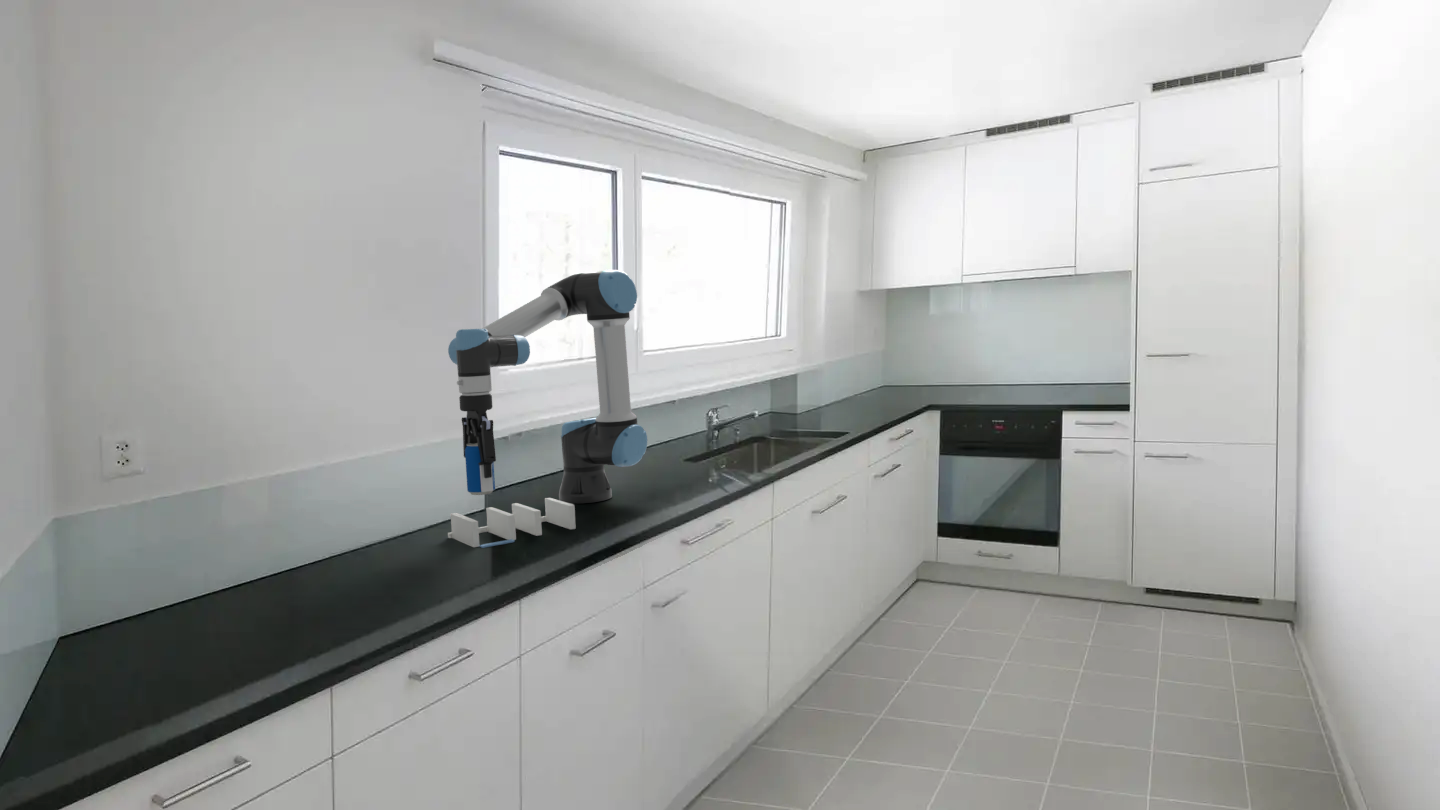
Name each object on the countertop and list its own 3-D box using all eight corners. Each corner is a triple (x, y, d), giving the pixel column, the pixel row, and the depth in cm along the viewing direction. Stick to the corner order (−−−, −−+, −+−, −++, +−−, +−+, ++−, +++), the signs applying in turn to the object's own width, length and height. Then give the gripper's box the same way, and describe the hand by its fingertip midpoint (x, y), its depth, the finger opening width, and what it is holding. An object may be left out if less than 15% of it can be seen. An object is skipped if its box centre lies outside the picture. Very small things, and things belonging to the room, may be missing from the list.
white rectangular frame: (551, 519, 254) (550, 496, 253) (578, 528, 242) (576, 504, 242) (448, 537, 237) (446, 513, 237) (470, 547, 226) (469, 522, 225)
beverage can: (488, 495, 229) (485, 445, 228) (462, 495, 230) (459, 445, 229) (499, 490, 235) (496, 441, 234) (475, 490, 237) (472, 441, 236)
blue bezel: (511, 540, 231) (511, 539, 231) (514, 541, 230) (514, 540, 230) (479, 546, 227) (479, 545, 227) (482, 547, 225) (482, 546, 225)
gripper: (445, 393, 236) (451, 486, 238) (476, 396, 221) (482, 496, 223) (474, 390, 241) (480, 482, 243) (507, 394, 225) (512, 492, 227)
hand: (481, 489), depth 233 cm, fingers closed on beverage can, 6 cm apart
